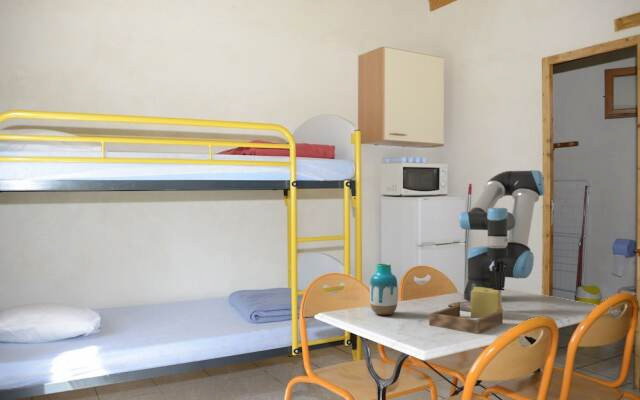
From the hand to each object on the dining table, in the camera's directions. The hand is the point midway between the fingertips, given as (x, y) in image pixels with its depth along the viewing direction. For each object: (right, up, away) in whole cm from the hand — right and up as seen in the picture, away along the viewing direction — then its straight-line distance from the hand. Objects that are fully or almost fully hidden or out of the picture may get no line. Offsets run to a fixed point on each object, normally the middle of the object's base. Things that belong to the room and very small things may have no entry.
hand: (497, 306), depth 209 cm
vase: (-45, -2, -5) cm, 46 cm away
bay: (-18, -2, -21) cm, 27 cm away
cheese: (-7, -2, -8) cm, 11 cm away
